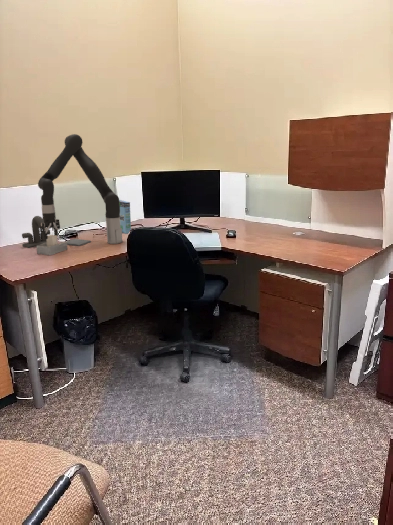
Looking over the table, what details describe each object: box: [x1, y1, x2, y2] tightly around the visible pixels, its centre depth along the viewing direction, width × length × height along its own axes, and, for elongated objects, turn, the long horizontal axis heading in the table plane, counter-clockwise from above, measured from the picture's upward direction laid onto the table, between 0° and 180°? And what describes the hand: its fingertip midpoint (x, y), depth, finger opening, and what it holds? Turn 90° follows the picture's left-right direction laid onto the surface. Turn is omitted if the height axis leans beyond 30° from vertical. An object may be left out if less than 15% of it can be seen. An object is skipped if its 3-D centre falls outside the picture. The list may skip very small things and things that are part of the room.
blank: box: [46, 234, 59, 247], centre depth 260 cm, size 5×4×10 cm
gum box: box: [119, 199, 132, 235], centre depth 310 cm, size 20×5×23 cm, turn 39°
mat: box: [65, 238, 92, 247], centre depth 280 cm, size 14×12×1 cm
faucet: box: [21, 215, 51, 249], centre depth 272 cm, size 18×16×20 cm
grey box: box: [35, 241, 68, 256], centre depth 260 cm, size 10×15×5 cm
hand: (51, 237), depth 259 cm, fingers open, 8 cm apart
